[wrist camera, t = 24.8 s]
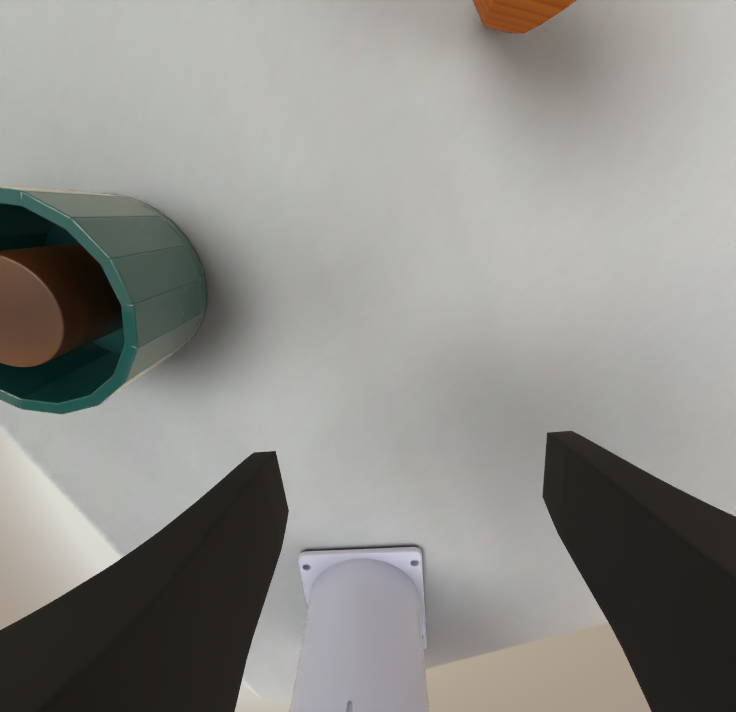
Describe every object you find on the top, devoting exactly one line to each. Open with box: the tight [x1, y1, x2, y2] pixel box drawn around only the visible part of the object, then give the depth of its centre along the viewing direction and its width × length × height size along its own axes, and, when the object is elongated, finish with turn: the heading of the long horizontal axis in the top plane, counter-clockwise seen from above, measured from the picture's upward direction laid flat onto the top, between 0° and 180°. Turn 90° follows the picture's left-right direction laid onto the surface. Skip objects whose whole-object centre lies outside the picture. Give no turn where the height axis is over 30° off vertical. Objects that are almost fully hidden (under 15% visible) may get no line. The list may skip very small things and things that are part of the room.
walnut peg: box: [0, 243, 123, 367], centre depth 16 cm, size 4×4×6 cm
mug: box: [0, 186, 207, 414], centre depth 17 cm, size 11×8×6 cm
